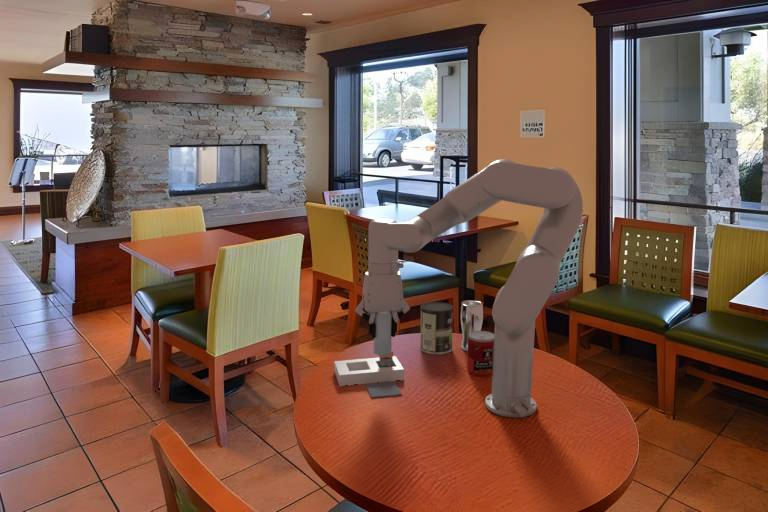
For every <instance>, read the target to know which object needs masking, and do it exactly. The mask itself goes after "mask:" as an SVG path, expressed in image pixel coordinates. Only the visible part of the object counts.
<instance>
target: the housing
mask: <svg viewBox="0 0 768 512" xmlns="http://www.w3.org/2000/svg"><path fill="white" fill-rule="evenodd" d="M334 374H335V376H336V377H335V378H336V380H337V382H338V385H339V387H344V386H345V385H348V386H355V385H354V384H358V385H366V384H367V383H369V384H371V383H377V382H379V383H381V382H389V381H390V382H392V381H395V382H397V381H396V380H400V381H405V369H404V367H403V366H402V364H401V362H400V360H399V359H398V358H397V356H396V355H393V357H392V367H383V368H380V357H379V356H378V357H370V358H368V357H367V358H357V359H345V360H334ZM345 387H346V386H345Z"/></svg>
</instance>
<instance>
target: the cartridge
mask: <svg viewBox="0 0 768 512" xmlns="http://www.w3.org/2000/svg"><path fill="white" fill-rule="evenodd" d="M374 323H375V338H374V339H373V354H375V355H378V356H379V355H388V354H390V353H391V351H392V336H391V331H392V312H388V311H387V312H376V314H375V318H374Z"/></svg>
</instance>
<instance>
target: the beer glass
mask: <svg viewBox="0 0 768 512" xmlns="http://www.w3.org/2000/svg"><path fill="white" fill-rule="evenodd" d="M483 304H484V303H483V302H482V301H479V300H471V299H469V300H467V299H466V300H463V301H461V306H460V324H461V331H462V333H461V334H462V341H461V346H460V348H461V350H462V351H464V352H465V351H466V352H468V336H469V333H471V332H473V331H482V325H483V321H484V309H483V308H484V306H483Z"/></svg>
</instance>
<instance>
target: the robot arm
mask: <svg viewBox="0 0 768 512" xmlns="http://www.w3.org/2000/svg"><path fill="white" fill-rule="evenodd" d="M579 187H580V186H579V185H578V184H577V181H576V180H575V179H574V178H573V176H572V174H571V173H570V172H569V171H567V170H565V169H564V168H562V167H559V166H558V167H557V166H554V167H553V166H551V167H549V168H547V167H541V166H534V165H527V164H522V163H516V162H514V161H513V160H510V159H505V158H502V159H501V158H500V159H497V160H494V161H493V162H491V163H490V164H489V165H487V166H486V167H484V168H482V169H481V170H480V171H478V172H477V173H475V174H473V175H472V176H471V177H469V178H468V179H466V180H465V181H463V182H461V183H460V184H458V185H457V186H455V187H453V188H452V189H451V190H449V191H448V192H447V193H446V194H445V195H444V196H443V197H442V198H441V199H440V200H439V201H437V202H436V203H434V204H433V205H430V207H428V208H427V209H425V210H423V211H422V212H420V213H419V214H417V215H416V216H414V217H412V218H411V219H409V220H406V221H404V222H397V221H396V220H395V219H390V218H377V219H376V218H375V219H372V220H371V221H370V222H369V224H368V270H367V271H366V272H365V273H364V277H363V282H362V283H363V285H362V296H361V297H362V298H361V299H362V300H360V302H359V304H358V305H357V306H356V307H355V310H354V311H355V313H356V314H358V316H360V317H362V318H363V319H364V320H366V321H367V322H368V324H367V325H368V326H367V328H368V330H367V332H368V335H370V338H372V339H373V340H374V338H375V323H374V318H375V314H376V312H387V311H388V312H392V331H391V338H395V337H396V333H397V332H398V322H399V320H400V319H401V318H402V317H403V316H404V315H405V314H406V313H408V312H409V311H410V309H411V306H410V305H409V304H408V302H407V301H406V300H405V299H404V291H403V281H402V276H401V275H402V274H401V272H400V271H399V270H400V269H404V263H403V262H400V261H399V251H400V252H403V253H416V252H418V251H420V250H421V249H423V248H424V247H425V246H426V245H427V244H429V243H430V242H431V241H433V240H434V239H436V238H437V237H440V235H442V234H444V233H446V232H447V231H448V230H450V229H453V228H454V227H456V226H458V225H460V224H465V223H467V222H469V221H471V220H472V219H474V218H476V217H478V216H479V215H480V214H483V213H484V212H485V211H487V210H489V209H490V208H492V207H493V206H495V205H496V204H498V203H500V202H502V201H504V202H509V203H514V204H521V205H525V206H530V207H536V208H537V207H538V208H543V212H542V216H541V218H540V220H539V222H538V224H537V225H536V228H535V229H534V232H533V234H532V235H531V237H530V239H529V240H528V242H527V244H526V245H525V247H524V249H523V250H522V251H521V252H520V254H519V256H518V257H517V260H516V262H515V265H514V268H513V269H512V271H511V273H510V275H509V277H508V279H507V280H506V282H505V284H504V285H503V286H501V288H500V289H499V290H498V292H497V293H496V296H495V299H494V302H493V305H492V310H491V315H492V319H493V323H494V333H493V334H494V349H493V373H492V375H491V378H492V379H491V393H489V394H488V395H487V396H486V397H485V399H484V405H485V407H486V408H487V410H489V411H490V412H491V413H494V414H496V415H498V416H502V417H505V418H525V417H529V416H532V415H533V414H535V413H536V411H537V407H538V406H537V402H536V401H535V399H534V398H533V397H531V396H532V383H533V382H532V380H533V363H534V348H535V347H534V345H535V329H536V319H537V317H538V316H539V315H540V313H541V311H542V309H543V307H544V306H545V304H546V302H547V300H548V298H550V295H551V294H552V292H553V291H554V289H555V287H556V284H557V282H558V279H559V275H560V265H561V262H562V260H563V259H564V257H565V255H566V253H567V251H568V249H569V247H570V246H571V244H572V242H573V240H574V238H575V236H576V234H577V232H578V230H579V228H580V225H581V222H582V218H583V215H584V214H583V212H584V202H583V195H582V192H581V190H580V188H579ZM363 309H364V310H363Z"/></svg>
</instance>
